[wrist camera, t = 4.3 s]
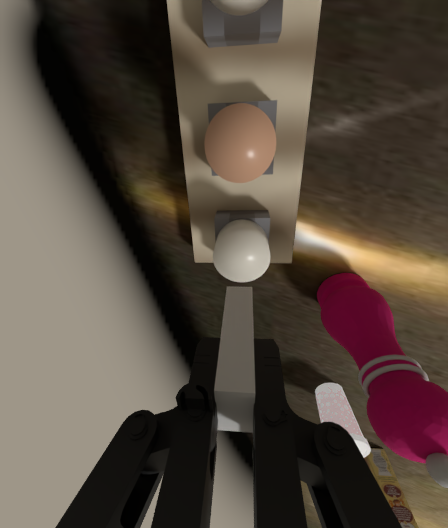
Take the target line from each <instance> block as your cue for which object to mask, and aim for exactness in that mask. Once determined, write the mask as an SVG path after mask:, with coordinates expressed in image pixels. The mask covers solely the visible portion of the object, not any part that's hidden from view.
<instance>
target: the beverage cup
mask: <svg viewBox="0 0 448 528" xmlns="http://www.w3.org/2000/svg"><path fill="white" fill-rule="evenodd" d="M315 394H316V399H317V404H318V409H319V415H320V420H321V423H323V422H334V423H336V424H339V425H341V426H342V427H343V428H344V429H346V430H347V431H348V433H349V434H350V435H351V437H352V438H353V439H354V441H355V443H356V445H357V447H358V448H359V450H360V452H361V454H362V456H363V458H365V457H366V456H367V455H369V454H370V451H371V448H370V446H369V444H368V442H367V439H365V438H364V437H363V434H362V432H361V430H360V428H359V425H358V423H357V421H356V418H355V416H354V414H353V412H352V409H351V407H350V405H349V403H348V400H347V398H346V396H345V393H344V391H343V389H342V387H341V386H340V385H338V384H336V383H324V384H321V385H319V386H318V387H317V388H316V390H315Z"/></svg>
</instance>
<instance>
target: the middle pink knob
mask: <svg viewBox="0 0 448 528" xmlns="http://www.w3.org/2000/svg"><path fill="white" fill-rule="evenodd" d="M204 145H205V154H206V158H207V160H208V163H209V164H210V166H211V168H212V169H213V171H214V172H215V173H216V174H217V175H218V176H220V177H221V178H223V179H225V180H227V181H229V182H233V183H246V182H250V181H252V180H254V179H256V178H258V177H259V176H261V175H262V174H263V173H264V172H265V171H266V170H267V169H268V167H269V166H270V164H271V162H272V160H273V158H274V155H275V151H276V133H275V129H274V127H273V124H272V122H271V120H270V119H269V117H268V116H267V115H266V114H265V113H264V112H263V111H262V110H261V109H259V108H258V107H256V106H254V105H251V104H246V103H237V104H232V105H229V106H227V107H225V108H223V109H222V110H220V111H219V112H218V113H217V114H216V115H215V116H214V117H213V119H212V120H211V122H210V124H209V126H208V128H207V131H206V135H205V142H204Z"/></svg>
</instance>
